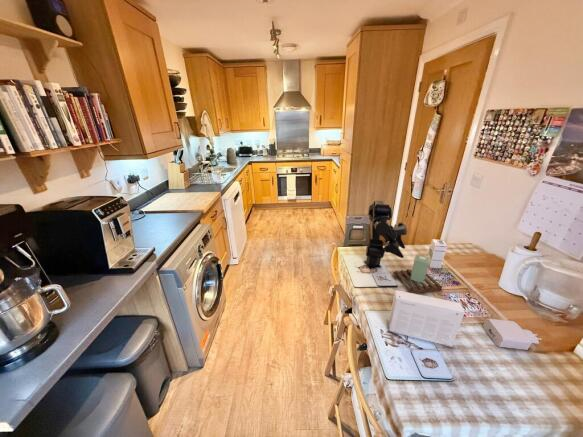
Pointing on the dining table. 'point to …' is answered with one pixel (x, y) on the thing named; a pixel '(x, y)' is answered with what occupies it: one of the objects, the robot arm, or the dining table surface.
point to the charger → (509, 334)
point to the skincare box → (425, 317)
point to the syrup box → (436, 253)
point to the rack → (417, 289)
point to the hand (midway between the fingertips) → (403, 252)
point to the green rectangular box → (419, 268)
